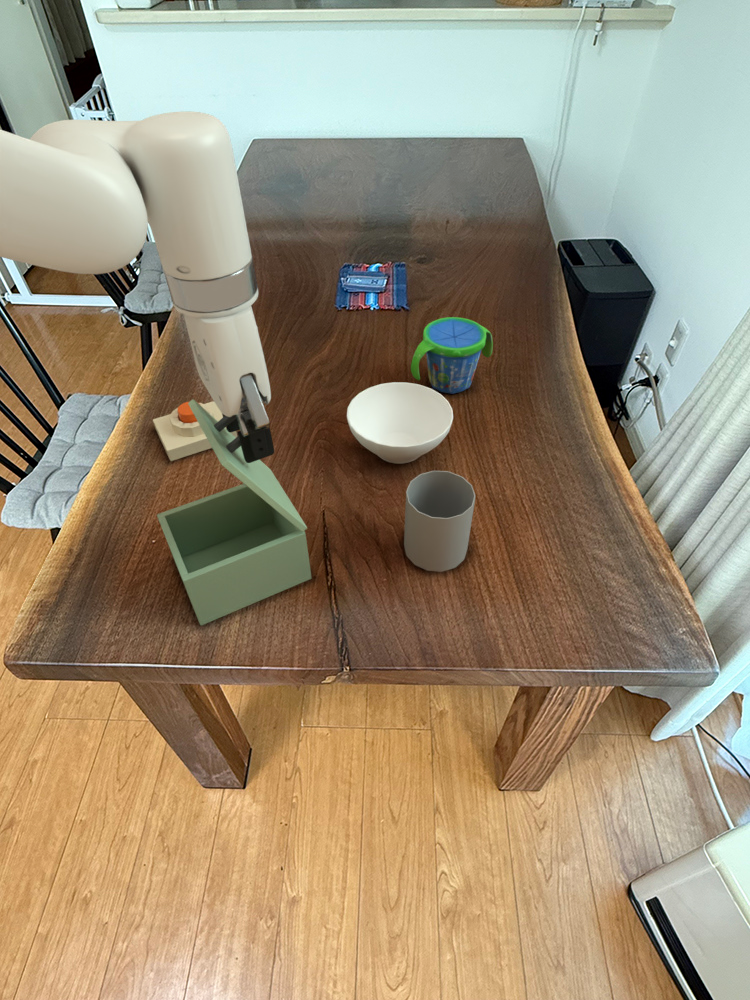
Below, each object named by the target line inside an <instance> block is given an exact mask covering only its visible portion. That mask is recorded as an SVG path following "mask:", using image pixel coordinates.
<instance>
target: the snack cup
mask: <svg viewBox="0 0 750 1000" xmlns="http://www.w3.org/2000/svg"><path fill="white" fill-rule="evenodd" d="M493 349H494V342H493V335H492V333H491V331H490V330H489V329H487V327H485V326H483V325H481V324H480V323H478V322H476V321H475V320H472V319H469V318H464V317H458V316H457V317H456V316H450V317H449V316H447V317H441V318H438V319H435V320H432V321H430V322H429V323H428V324H427V325H426V326H425V327H424V328H423V333H422V340H421V342H420V343H419V344H418V345H417V347H416V349H415V351H414V353H413V356H412V360H411V363H410V372H411V375H412V377H413V378H414V379H415V380H416V381H421V376H420V367H419V366H420V362H421V359H422V358H423V357H424V356H425V355H426V364H427V373H428V374H427V375H428V380H429V383H430V385H431V387H432V389H433V390H436V391H439V392H441V393H444V394H450V395H455V394H459V393H462V392H464V391H466V390H468V389H470V388H471V385H472V382H473V380H474V378H475V374H476V371H477V368H478V367H477V366H478V363H479V360H480V357H481V354H482V355H483V357H485V358H490V357H491V356H492V354H493Z"/></svg>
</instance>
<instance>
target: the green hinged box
mask: <svg viewBox="0 0 750 1000" xmlns="http://www.w3.org/2000/svg"><path fill="white" fill-rule="evenodd" d="M156 517H157V520H158V523H159V525H160V527H161V530H162V532H163V535H164V538H165V540H166V543H167V545H168V548H169V551H170V553H171V555H172V558H173V560H174V563H175V566H176V567H177V570H178V573H179V576H180V578H181V581H182V583H183V585H184V589H185V591H186V593H187V596H188V598H189V601H190V603H191V606H192V609H193V611H194V614H195V616H196V618H197V621H198V623H199V626H200V627H201V626H204V625H207V624H209V623H212V622H213V621H215V620H218V619H220V618H222V617H225V616H228V615H230V614H232V613H235V612H236V611H240V610H241V609H243V608H247V607H248V606H250V605H253V604H256V603H258V602H260V601H262V600H265V599H267V598H269V597H272V596H274V595H276V594H279V593H282V592H283V591H286V590H288V589H291V588H293V587H296V586H298V585H300V584H302V583H305V582H307V581H310V580H312V572H311V571H312V570H311V564H310V556H309V551H308V542H307V535H306V531H303V532H302V531H300V530H299V529H298V528H297V527H296V526H294V525H293V524H292V523H291V522H290V521H288V520H287V519H286V518H285V517H284V516H282V515H281V514H280V513H279V512H278V511H276V510H275V509H274V508H273V507H272V506H270V505H269V504H268V503H267V502H265V501H264V500H263V499H262V498H261V497H259V496H258V495H257V494H256V493H255V492H253V491H252V490H251V489H250V488H249V487H247V486H246V485H245V484H244V483H242V484H241V483H240V484H239V485H236V486H233V487H230V488H228V489H225V490H222V491H219V492H216V493H213V494H210V495H208V496H204V497H202V498H198V499H196V500H193V501H191V502H188V503H185V504H183V505H182V504H181V505H179V506H177V507H173V508H170V509H168V510H166V511H165V510H164V511H162V512H160V513H157V514H156Z"/></svg>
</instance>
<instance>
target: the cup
mask: <svg viewBox="0 0 750 1000" xmlns="http://www.w3.org/2000/svg"><path fill="white" fill-rule="evenodd" d="M476 497H477V495H476V493H475V489H474V487H473V484H471V483H470V482H469V481H468V480H467V479H466V478H465V477H464V476H462V475H459V474H457V473H454V472H451V471H447V470H431V471H427V472H422V473H420V474H418V475H417V476H416V477H414V478H413V479H412V480H410V481H409V484H408V486H407V488H406V490H405V508H404V509H405V511H404V514H405V515H404V535H403V546H404V547H403V548H404V552H405V555H406V557H407V558H408V559H409V561H410V562H412V564H413V565H414V566H416V567H418V568H421V569H423V570H425V571H427V572H441V573H442V572H443V573H444V572H446V571H449V570H453V569H455V568H457V567H458V566H459V565H460V564H461V563H462V562H463V561H464V560H465V559H466V555H467V552H468V547H469V541H470V533H471V527H472V521H473V515H474V509H475V503H476Z"/></svg>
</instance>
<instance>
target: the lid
mask: <svg viewBox="0 0 750 1000" xmlns="http://www.w3.org/2000/svg"><path fill="white" fill-rule="evenodd" d="M188 402H189V403H188V404H189V406H190V408H191V410H192V412H193V414H194V415H195V417H196V419H197V421H198V423H199V425H200V426H201V428H202V430H203V432H204V434H205V435H206V437H207V439H208V441H209V443H210V445H211V446H212V448H211V449H212V450H213V452H214V453H215V455H216V457H217V459H218V461H219V463H220V465H221V466H222V467H223V468H225V469H226V470H227V471H228V472H229V473H231V474H232V475H233V476H234V477H235V478H236V479H238V480H239V481H240V482H241V483H242V484H245V485H246V486H247V487H249V488H250V489H251V490H252V491H253V492H255V493H256V494H257V495H258V496H259V497H261V498H262V499H263V500H264V501H265V502H267V503H268V504H269V505H270V506H272V507H273V508H274V509H275V510H276V511H278V512H279V513H280V514H281V515H282V516H284V517H285V518H286V519H287V520H288V521H290V522H291V523H292V524H293V525H294V526H296V527H297V528H298V529H299V530H300V531H302V532H303V531H304V532H306V530H308V526H307V525H306V522H305V521H304V520H303V518H302V517H301V516H300V514H299V512H298V510H297V509H296V507H295V505H294V504H293V503H292V501H291V500H290V497H289V496H288V494H287V493H286V492H285V490H284V488H283V487H282V485H281V483H280V482H279V480H278V479H277V478H276V475H275V474H274V472H273V471H272V470H271V468H270V467H268V466H267V465H266V464H265V463H264V462H263V461H262V459H259V460H257V461H254V462H251V463H247V462H246V461H245V459H244V456H243V452H242V448H241V444H240V440H239V436H238V435H237V437H236V438H235V437H234V436H233V435H232V434H231V433H230V432H228V431H227V429H226V428H225V427H226V426H228V425H229V424H230V423H231V422H232V421H234V420H235V419H236V415H232V417H227V416H224V417H223V418H222V419H221V420H220V421H217V420H216V419H215V418H214V417H213V416H211V415H210V414H209V413H208V412H207V411H206V410H205V409H204V408H203V407H202V406H201V405H199V404H198V403H199V402H197V400H195V399H194V398H193V399H191V400H189V401H188ZM242 402H245V398H243V399H242V401H241V403H242ZM242 413H243V416H244V419H245V422H246V421H247V420H248V419H251V414H250V411H249V410H248V411H245V412H242Z"/></svg>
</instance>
